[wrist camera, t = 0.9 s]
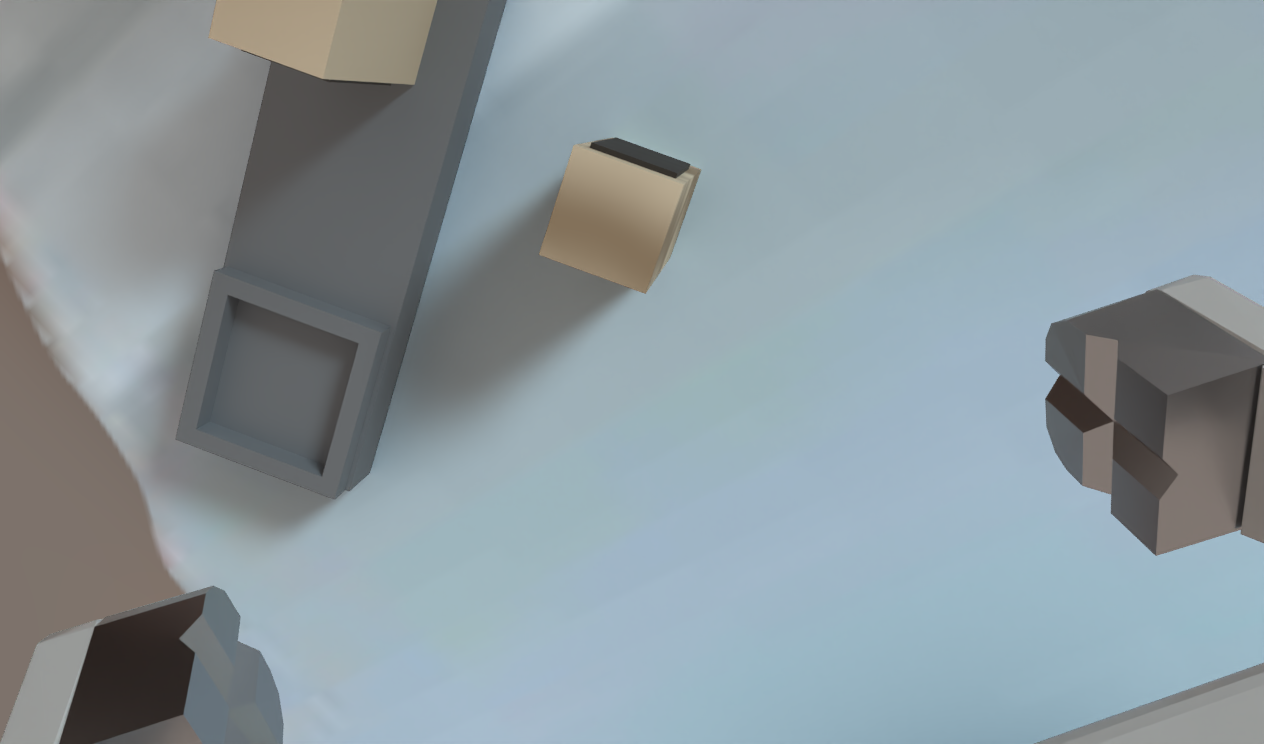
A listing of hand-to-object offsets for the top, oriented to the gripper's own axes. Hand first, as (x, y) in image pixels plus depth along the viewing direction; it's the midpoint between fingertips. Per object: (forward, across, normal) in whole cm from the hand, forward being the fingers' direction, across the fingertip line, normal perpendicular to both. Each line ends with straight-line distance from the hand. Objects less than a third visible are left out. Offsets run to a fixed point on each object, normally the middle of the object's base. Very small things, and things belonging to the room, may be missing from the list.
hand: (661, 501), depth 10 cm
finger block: (+34, -6, +11) cm, 36 cm away
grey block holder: (+38, +6, +10) cm, 40 cm away
